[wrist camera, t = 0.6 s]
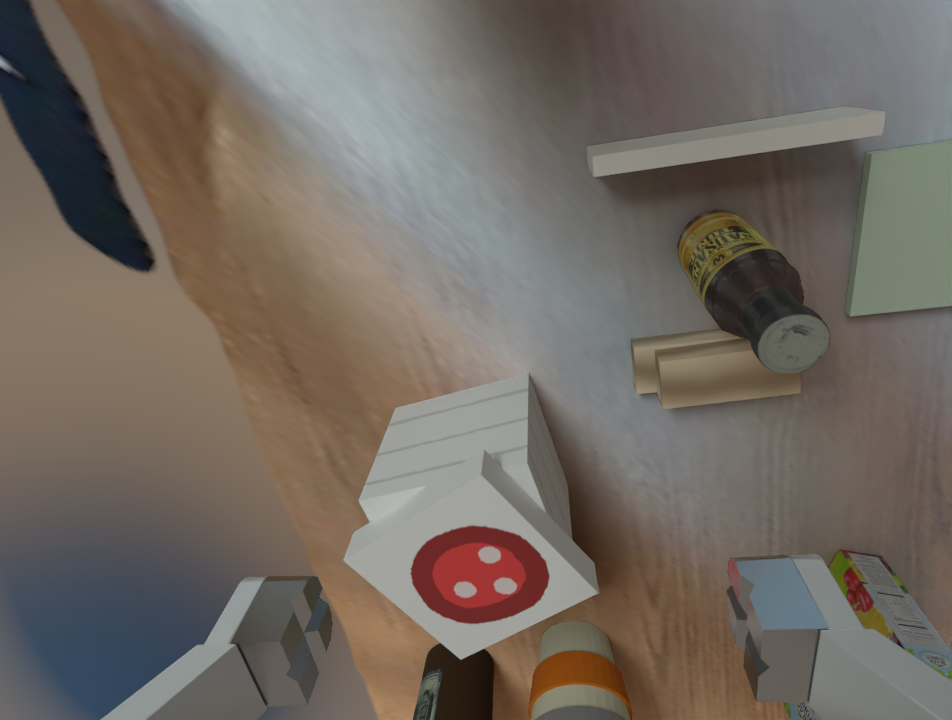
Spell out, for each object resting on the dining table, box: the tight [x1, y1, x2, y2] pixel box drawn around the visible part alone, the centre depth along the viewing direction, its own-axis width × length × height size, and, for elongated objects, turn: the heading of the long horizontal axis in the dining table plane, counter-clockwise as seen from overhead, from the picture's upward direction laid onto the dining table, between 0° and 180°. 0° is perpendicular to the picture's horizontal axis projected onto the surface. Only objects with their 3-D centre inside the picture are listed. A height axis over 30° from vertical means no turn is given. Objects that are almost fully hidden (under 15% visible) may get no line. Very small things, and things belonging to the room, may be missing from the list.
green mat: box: [845, 140, 952, 316], centre depth 48 cm, size 14×10×1 cm
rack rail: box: [586, 106, 886, 177], centre depth 44 cm, size 2×20×6 cm, turn 99°
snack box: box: [784, 550, 952, 720], centre depth 63 cm, size 21×6×15 cm, turn 172°
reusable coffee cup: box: [529, 621, 632, 720], centre depth 70 cm, size 13×13×15 cm
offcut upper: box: [654, 338, 802, 409], centre depth 53 cm, size 5×12×2 cm, turn 101°
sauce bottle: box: [677, 210, 830, 374], centre depth 42 cm, size 6×6×20 cm
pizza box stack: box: [343, 373, 600, 660], centre depth 57 cm, size 19×30×18 cm, turn 19°
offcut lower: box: [631, 329, 740, 394], centre depth 55 cm, size 5×14×2 cm, turn 100°
